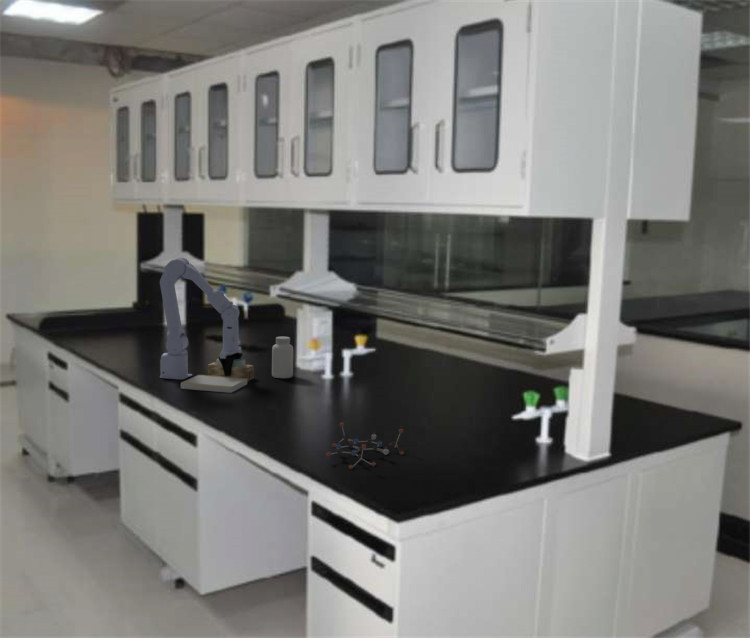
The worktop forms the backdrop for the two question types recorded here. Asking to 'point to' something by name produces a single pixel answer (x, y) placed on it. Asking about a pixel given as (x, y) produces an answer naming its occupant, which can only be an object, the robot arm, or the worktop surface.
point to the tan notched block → (236, 372)
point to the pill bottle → (282, 358)
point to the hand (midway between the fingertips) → (230, 374)
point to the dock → (214, 383)
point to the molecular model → (363, 447)
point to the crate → (238, 363)
